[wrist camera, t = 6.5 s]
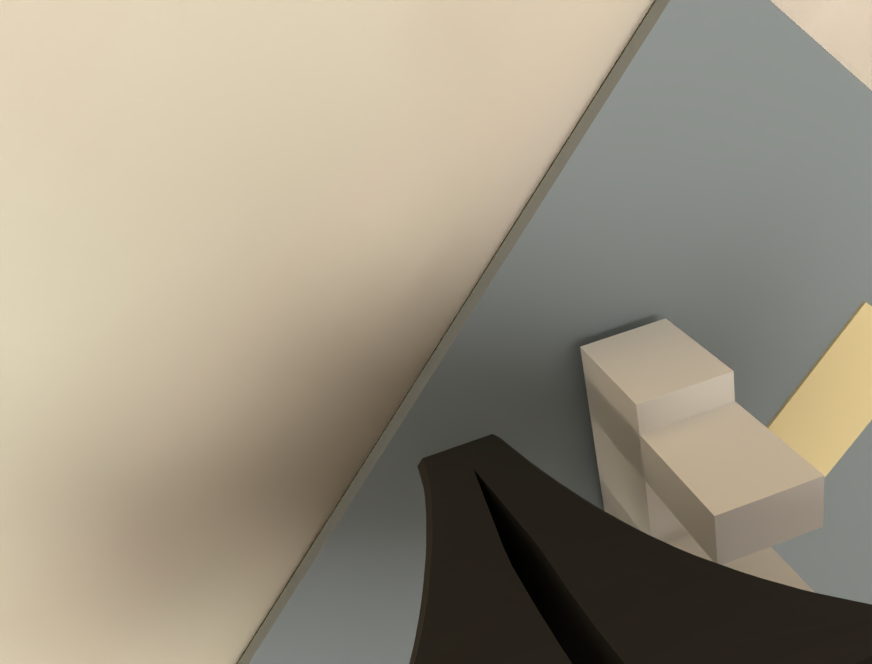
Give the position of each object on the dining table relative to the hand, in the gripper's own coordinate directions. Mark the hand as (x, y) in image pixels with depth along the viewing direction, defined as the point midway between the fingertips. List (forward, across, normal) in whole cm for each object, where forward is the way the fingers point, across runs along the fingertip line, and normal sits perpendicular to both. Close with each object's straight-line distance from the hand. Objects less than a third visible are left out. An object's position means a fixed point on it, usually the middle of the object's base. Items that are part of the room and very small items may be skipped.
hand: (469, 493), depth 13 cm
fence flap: (+1, -3, +3) cm, 4 cm away
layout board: (+2, -6, +4) cm, 7 cm away
